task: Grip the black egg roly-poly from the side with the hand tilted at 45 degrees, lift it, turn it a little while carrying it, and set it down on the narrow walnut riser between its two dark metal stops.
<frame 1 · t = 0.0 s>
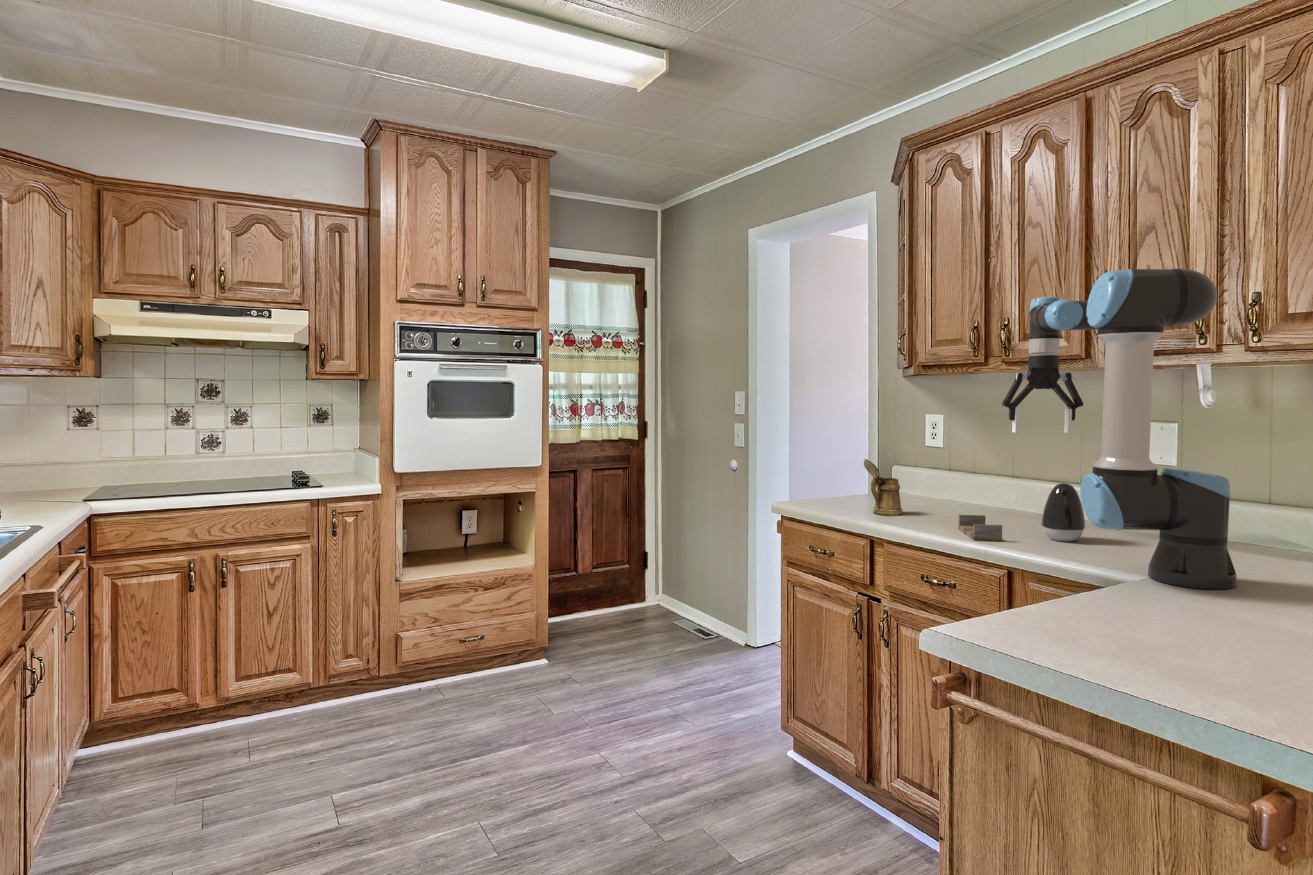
hand: (1041, 432, 206), 28 cm above the countertop, fingers open, 13 cm apart
wooden mug: (881, 514, 241), on the countertop
walnut riser: (979, 535, 206), on the countertop
black egg roly-poly: (1062, 540, 199), on the countertop
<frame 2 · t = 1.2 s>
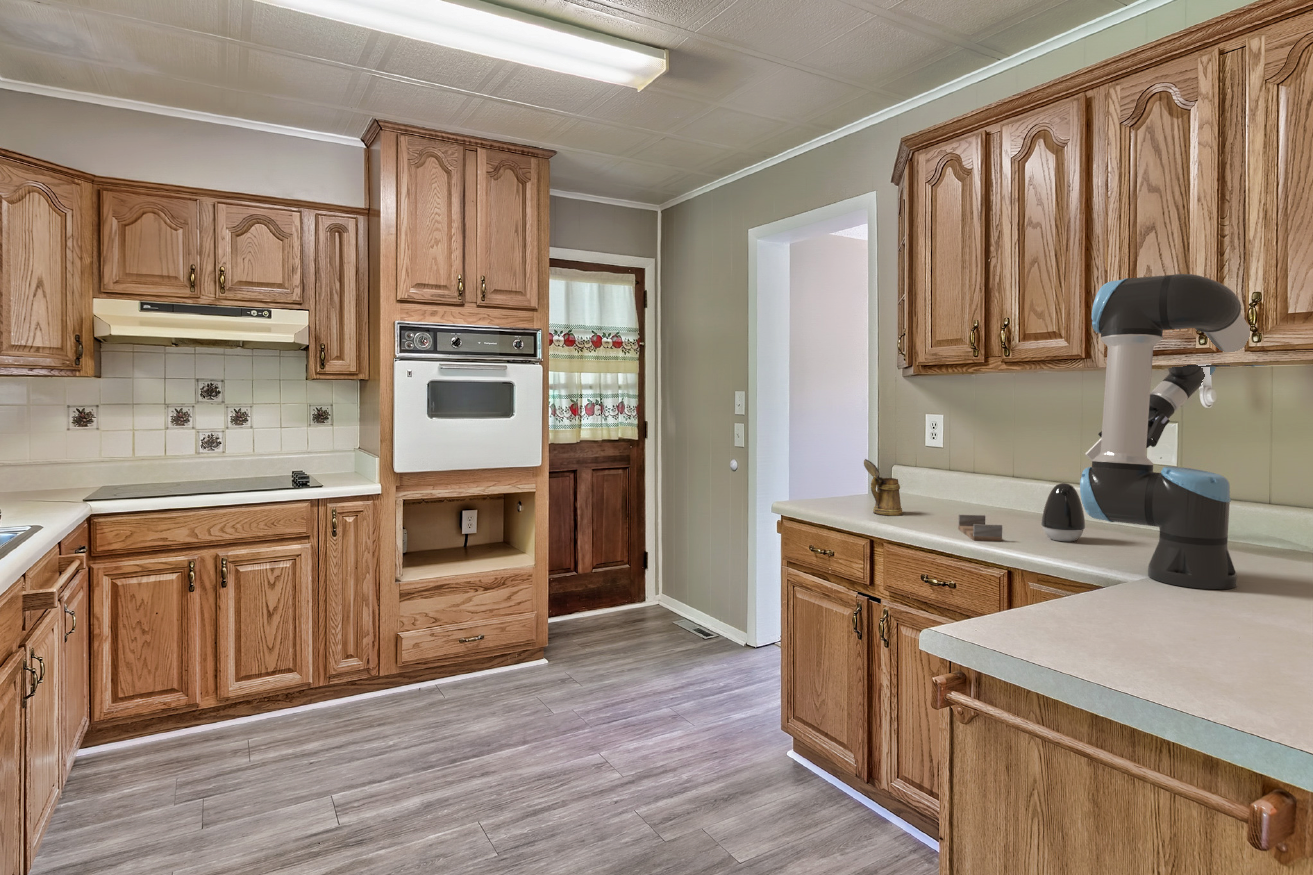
hand: (1104, 460, 199), 21 cm above the countertop, fingers open, 13 cm apart
nothing on the countertop moved.
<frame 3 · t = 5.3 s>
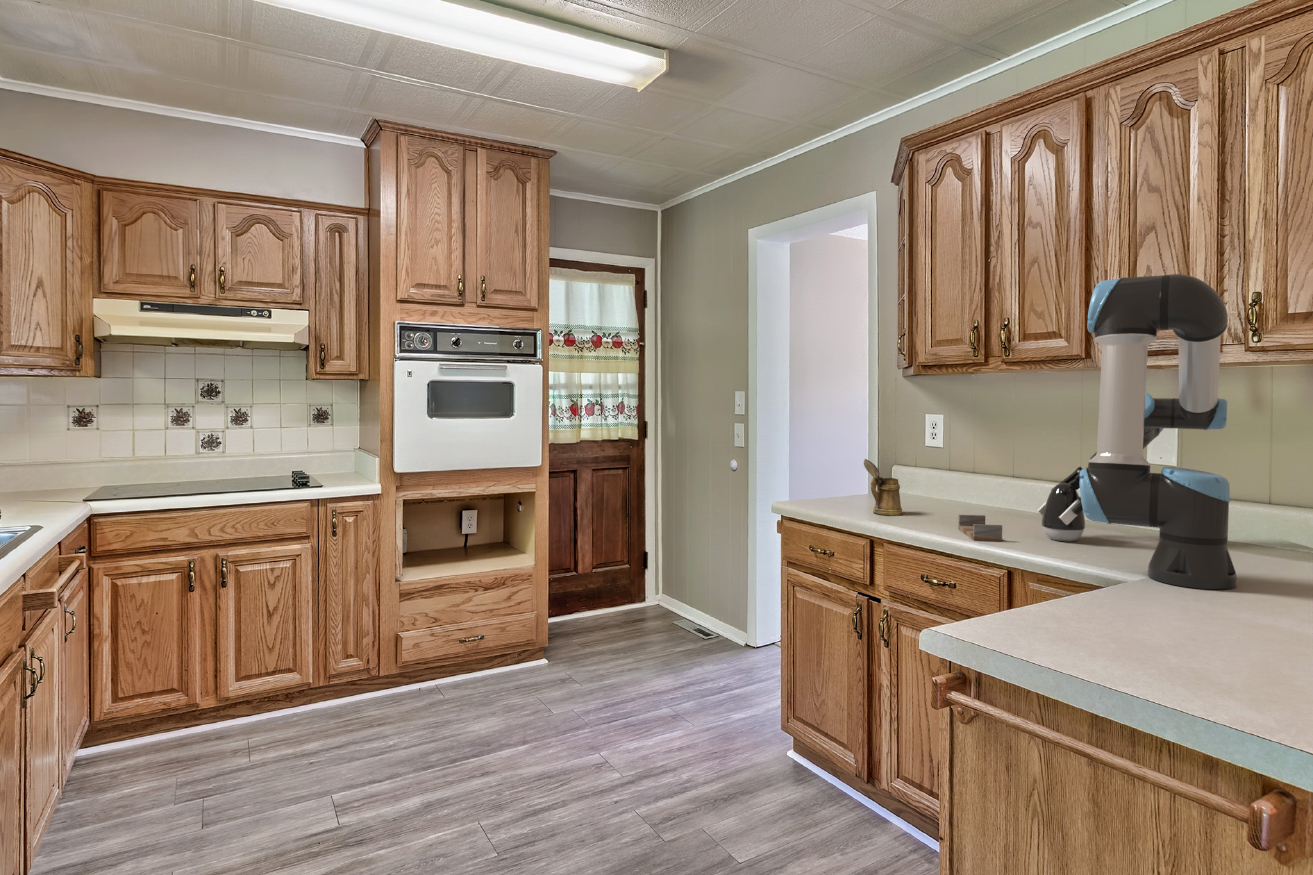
hand: (1051, 517, 199), 6 cm above the countertop, fingers closed on black egg roly-poly, 10 cm apart
black egg roly-poly: (1062, 540, 199), on the countertop, touching gripper
everything else where it was.
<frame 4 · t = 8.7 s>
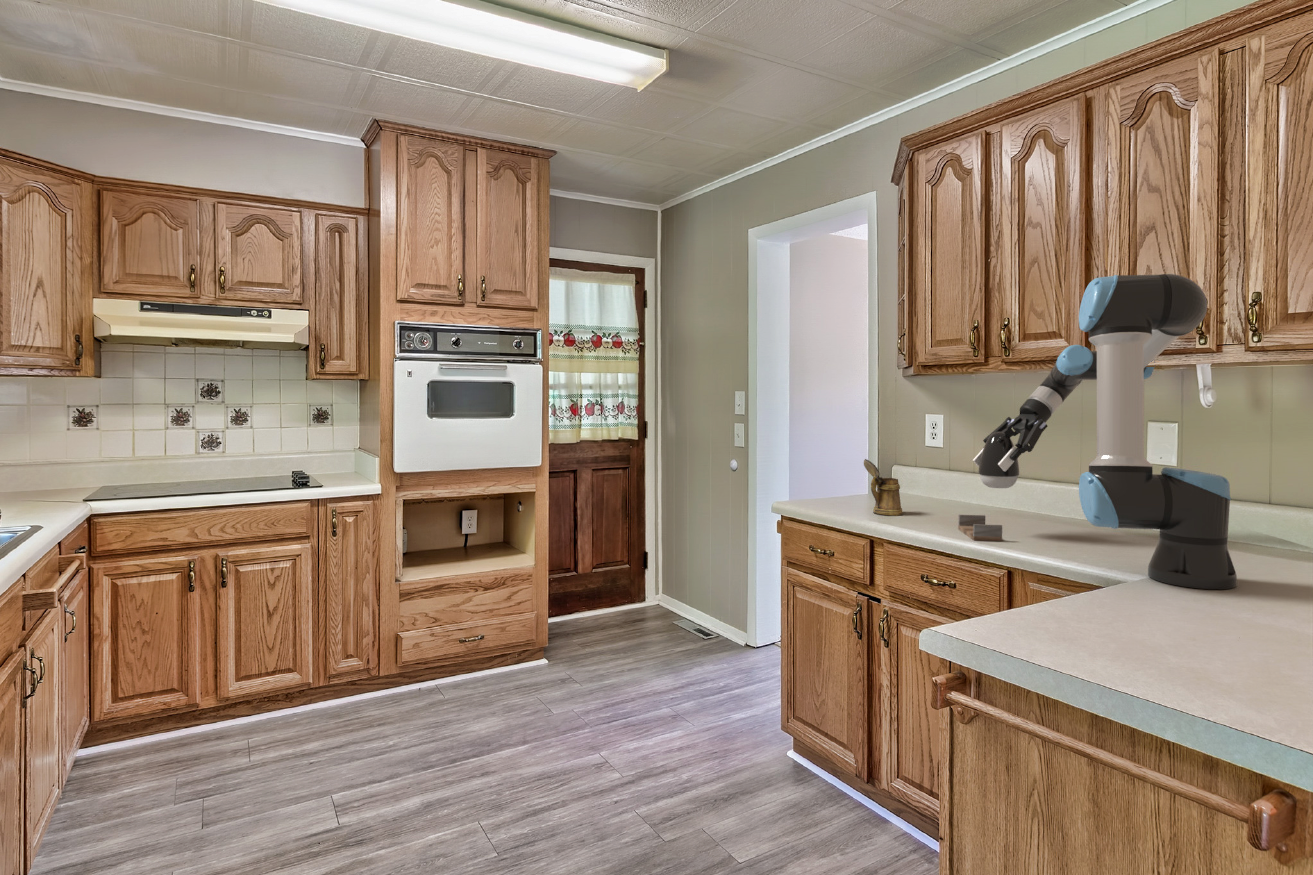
hand: (988, 465, 204), 19 cm above the countertop, fingers closed on black egg roly-poly, 10 cm apart
black egg roly-poly: (998, 487, 205), point 13 cm above the countertop, touching gripper
everything else where it was.
when the fingers open (9 cm above the countertop, at t = 12.1 s): black egg roly-poly drops 1 cm, resting on walnut riser.
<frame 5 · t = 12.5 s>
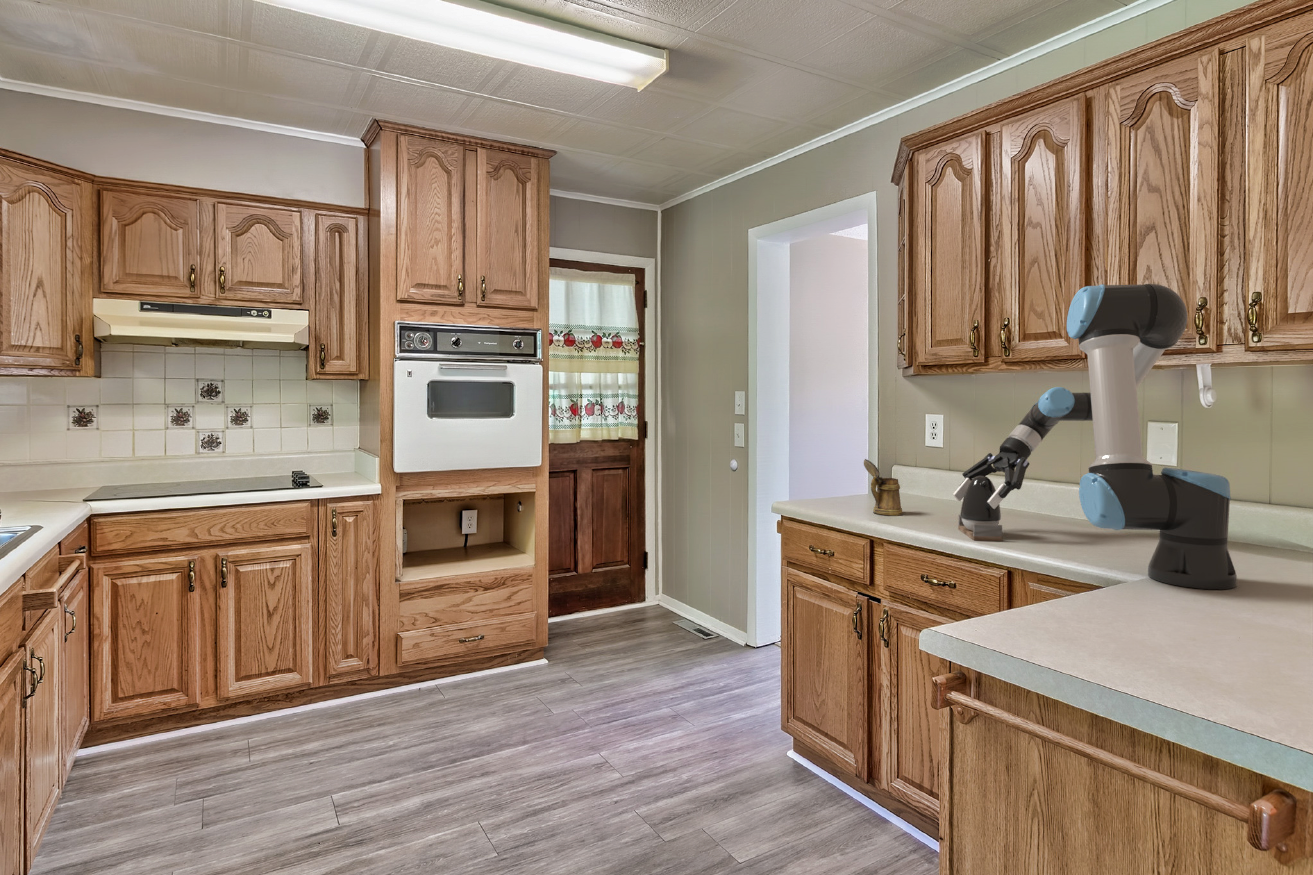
hand: (973, 501, 205), 9 cm above the countertop, fingers open, 13 cm apart
black egg roly-poly: (980, 531, 206), point 1 cm above the countertop, touching walnut riser
everything else where it was.
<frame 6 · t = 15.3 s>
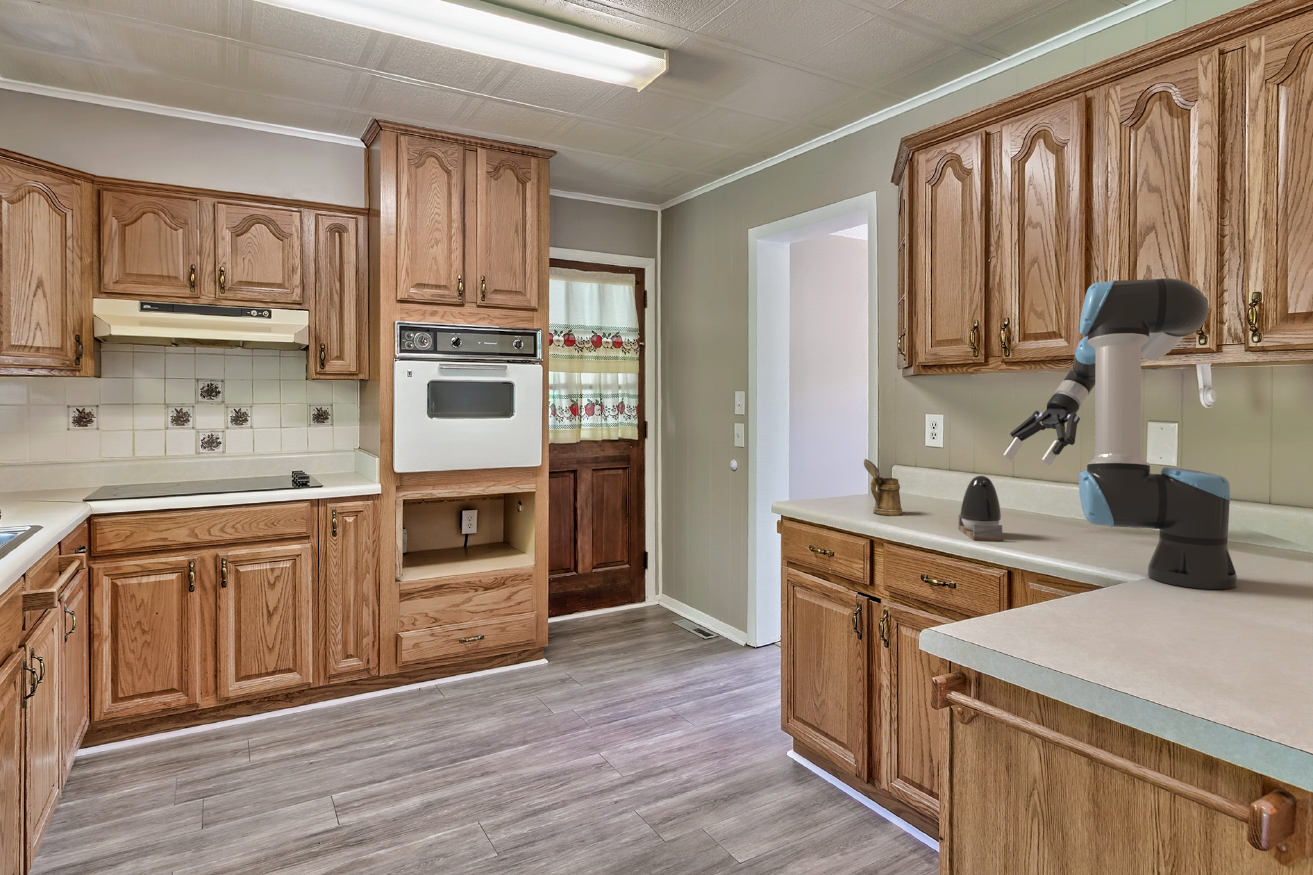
hand: (1025, 460, 206), 20 cm above the countertop, fingers open, 13 cm apart
nothing on the countertop moved.
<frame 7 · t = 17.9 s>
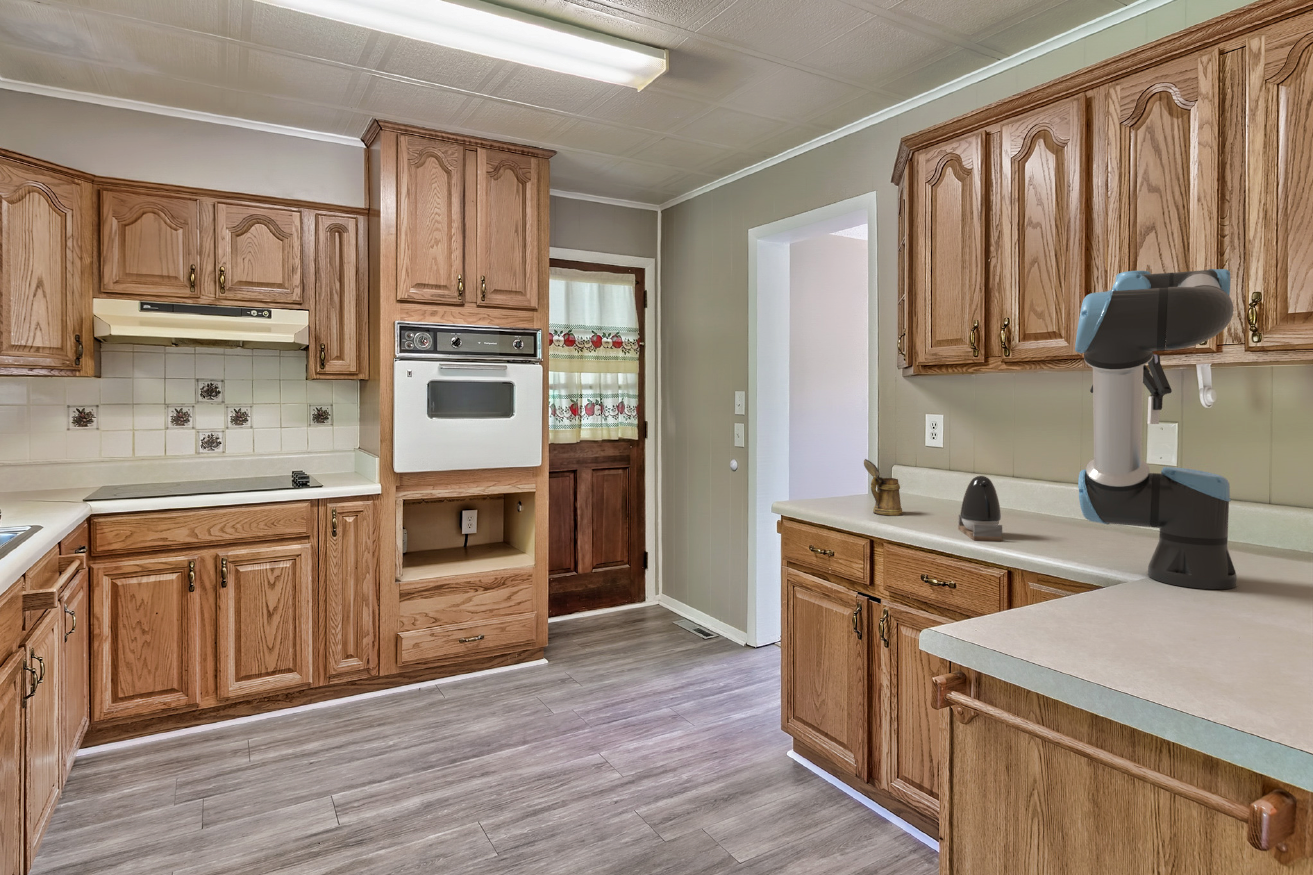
hand: (1127, 422, 185), 32 cm above the countertop, fingers open, 13 cm apart
nothing on the countertop moved.
at the end: black egg roly-poly 0.3 cm off-centre on the walnut riser, point 1.0 cm above the walnut riser's base; black egg roly-poly tilted 0°; the gripper is holding nothing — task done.
